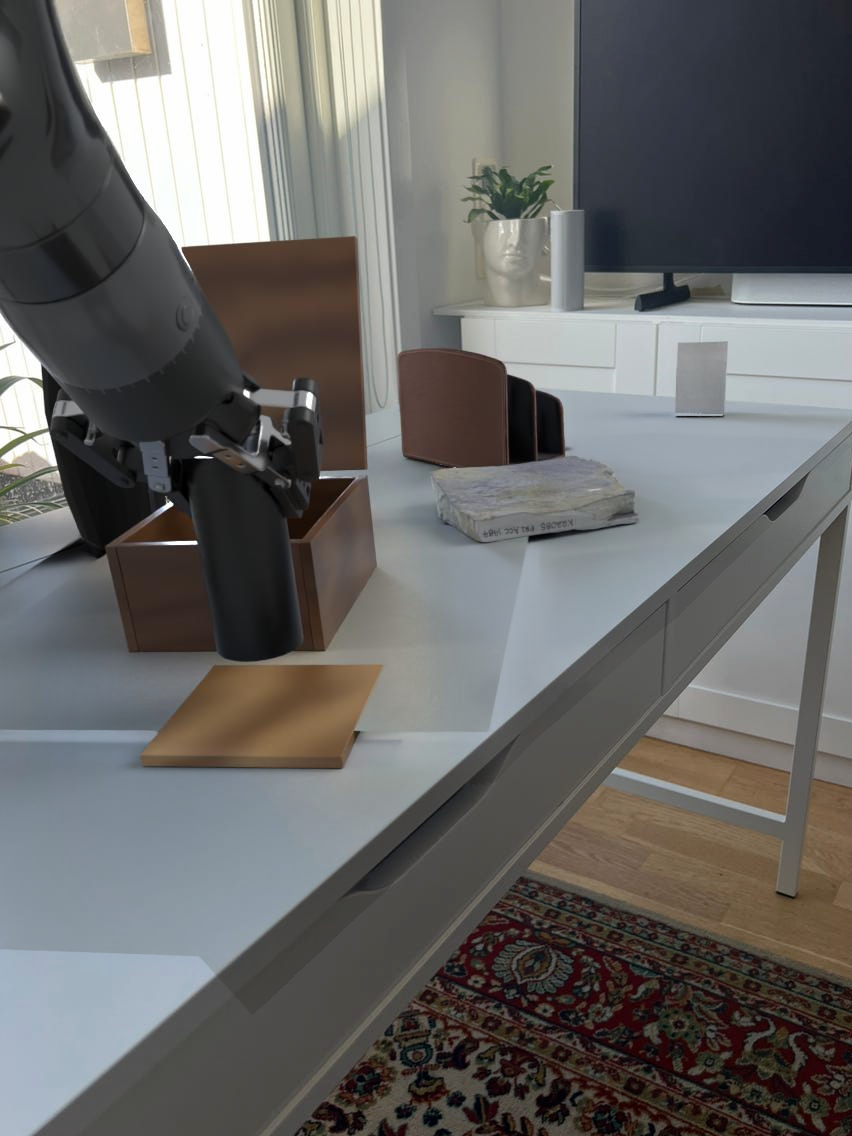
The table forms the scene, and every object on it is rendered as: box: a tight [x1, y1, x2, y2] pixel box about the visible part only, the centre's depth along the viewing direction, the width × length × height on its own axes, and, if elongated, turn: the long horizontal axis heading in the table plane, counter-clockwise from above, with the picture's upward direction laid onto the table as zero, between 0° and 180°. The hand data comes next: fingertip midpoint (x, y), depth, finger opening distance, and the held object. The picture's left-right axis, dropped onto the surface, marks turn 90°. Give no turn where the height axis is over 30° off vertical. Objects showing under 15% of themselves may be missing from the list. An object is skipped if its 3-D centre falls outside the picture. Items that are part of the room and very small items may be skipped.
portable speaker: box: [40, 363, 167, 558], centre depth 91 cm, size 9×9×20 cm
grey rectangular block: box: [674, 340, 729, 415], centre depth 135 cm, size 4×7×10 cm, turn 75°
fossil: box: [429, 455, 640, 543], centre depth 97 cm, size 20×5×17 cm
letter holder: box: [396, 347, 566, 468], centre depth 116 cm, size 10×20×14 cm, turn 42°
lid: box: [180, 235, 368, 472], centre depth 79 cm, size 18×15×1 cm
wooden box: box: [105, 474, 378, 653], centre depth 75 cm, size 18×15×9 cm
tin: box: [181, 447, 304, 663], centre depth 56 cm, size 5×5×12 cm
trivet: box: [139, 663, 385, 769], centre depth 60 cm, size 12×12×1 cm
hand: (249, 505), depth 56 cm, fingers closed on tin, 5 cm apart
